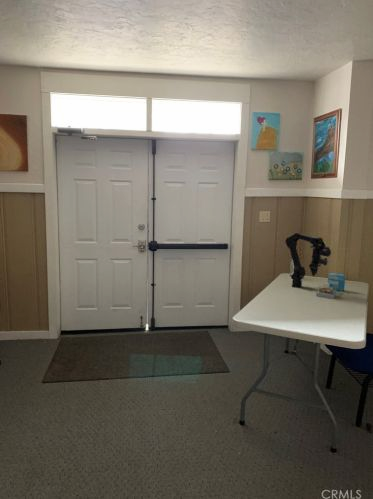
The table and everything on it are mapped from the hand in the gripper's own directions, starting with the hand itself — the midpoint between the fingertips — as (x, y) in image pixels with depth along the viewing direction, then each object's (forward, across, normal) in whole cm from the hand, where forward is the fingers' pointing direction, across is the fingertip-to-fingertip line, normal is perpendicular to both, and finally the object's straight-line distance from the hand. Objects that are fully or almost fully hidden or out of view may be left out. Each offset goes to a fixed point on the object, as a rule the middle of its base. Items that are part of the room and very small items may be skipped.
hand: (314, 275), depth 293 cm
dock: (+12, -7, -10) cm, 17 cm away
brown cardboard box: (+10, -7, -10) cm, 15 cm away
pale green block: (+6, -7, -10) cm, 13 cm away
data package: (+13, +15, -14) cm, 24 cm away
